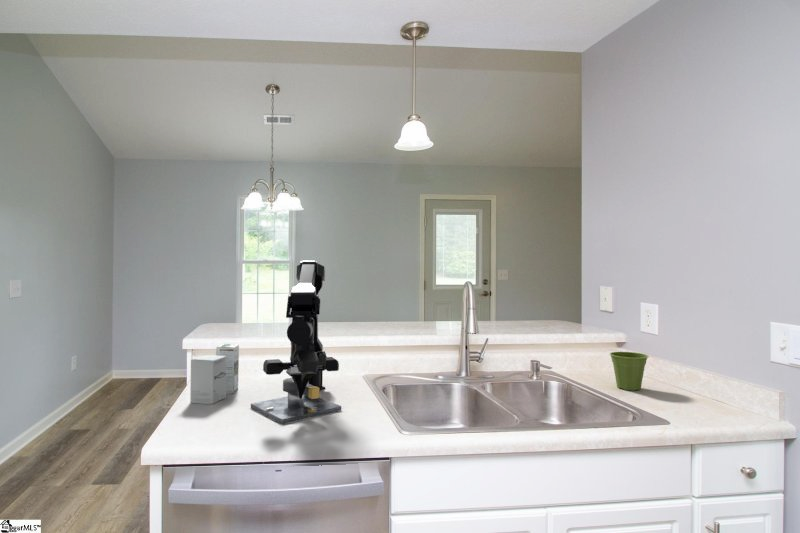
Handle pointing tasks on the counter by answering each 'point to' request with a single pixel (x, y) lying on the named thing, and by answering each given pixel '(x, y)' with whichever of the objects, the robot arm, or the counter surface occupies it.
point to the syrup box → (230, 365)
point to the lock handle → (309, 391)
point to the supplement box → (208, 379)
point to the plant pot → (629, 369)
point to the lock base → (294, 408)
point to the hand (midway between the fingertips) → (300, 398)
